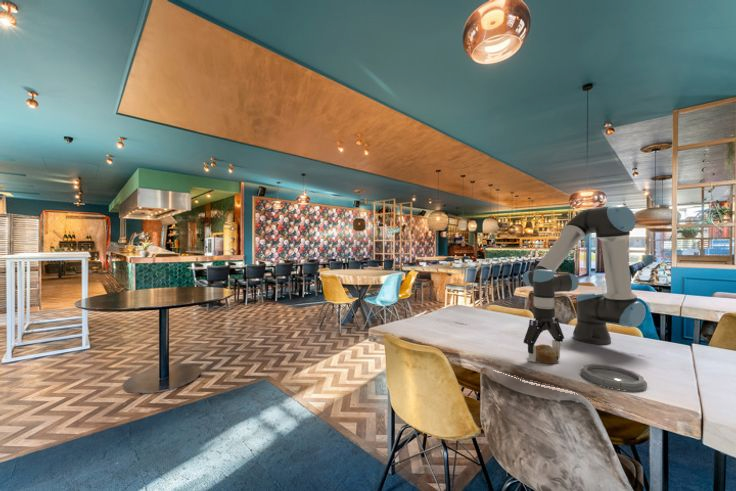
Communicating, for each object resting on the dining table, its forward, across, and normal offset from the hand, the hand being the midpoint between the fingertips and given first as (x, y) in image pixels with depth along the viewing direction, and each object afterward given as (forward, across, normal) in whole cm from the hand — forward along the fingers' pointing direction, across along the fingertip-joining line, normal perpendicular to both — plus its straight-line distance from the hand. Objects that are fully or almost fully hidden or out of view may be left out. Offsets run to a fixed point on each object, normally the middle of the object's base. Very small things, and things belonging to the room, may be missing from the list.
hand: (544, 358), depth 124 cm
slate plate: (0, -5, +22) cm, 23 cm away
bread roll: (+1, 0, 0) cm, 1 cm away
